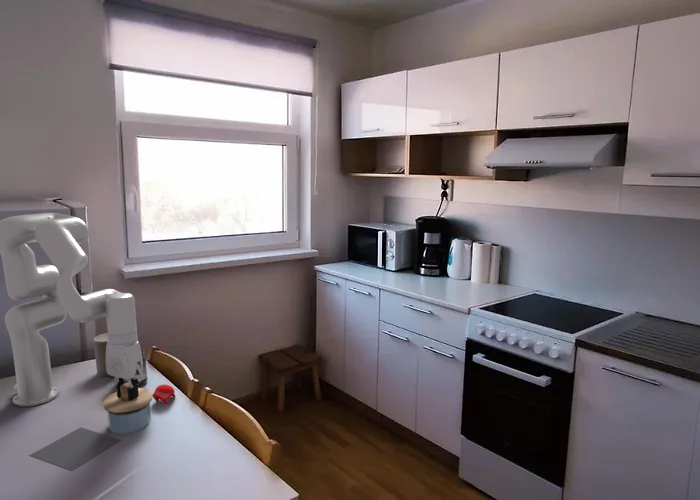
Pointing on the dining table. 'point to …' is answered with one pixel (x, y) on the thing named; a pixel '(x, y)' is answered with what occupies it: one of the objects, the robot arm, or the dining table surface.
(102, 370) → the pillar candle
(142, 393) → the lid
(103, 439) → the mat
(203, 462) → the dining table surface
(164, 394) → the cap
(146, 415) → the bowl
